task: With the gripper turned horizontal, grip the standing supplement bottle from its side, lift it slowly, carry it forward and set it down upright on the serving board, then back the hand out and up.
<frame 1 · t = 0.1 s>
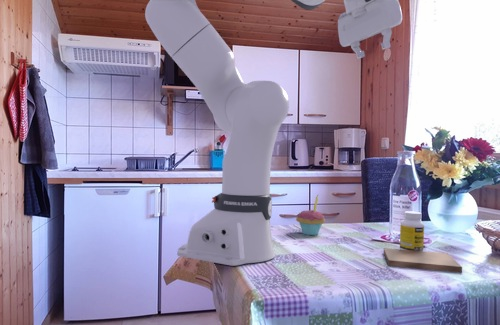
hand: (373, 53, 97), 52 cm above the table, tool tilted 20°, fingers open, 8 cm apart
serving board: (419, 261, 79), on the table
supplement bottle: (411, 251, 89), on the table
cupcake: (310, 234, 107), on the table
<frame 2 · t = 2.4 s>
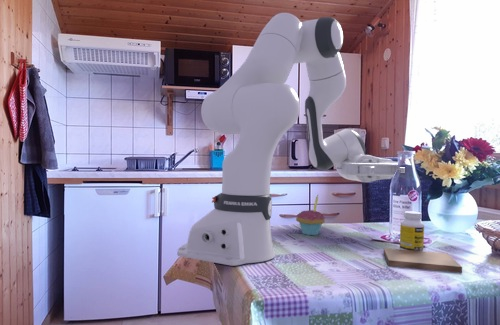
hand: (387, 170, 101), 20 cm above the table, tool horizontal, fingers open, 8 cm apart
nothing on the table moved.
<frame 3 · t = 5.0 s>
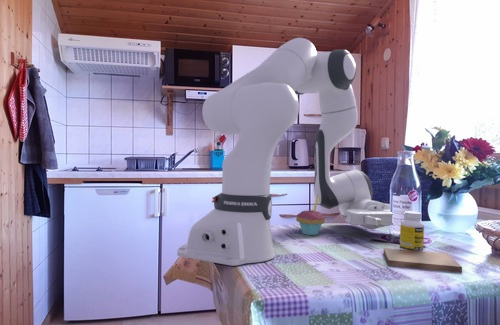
hand: (394, 222, 96), 6 cm above the table, tool horizontal, fingers open, 8 cm apart
nothing on the table moved.
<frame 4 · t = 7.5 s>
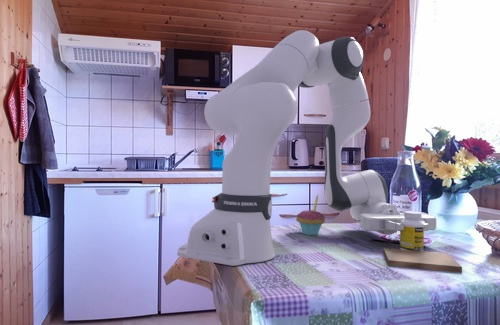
hand: (414, 227, 88), 6 cm above the table, tool horizontal, fingers closed on supplement bottle, 5 cm apart
supplement bottle: (411, 251, 89), on the table, touching gripper
everything else where it was.
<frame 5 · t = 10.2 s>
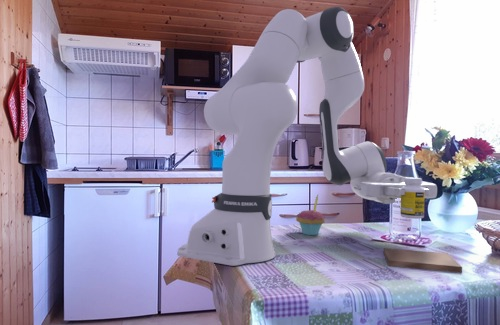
hand: (414, 192, 87), 15 cm above the table, tool horizontal, fingers closed on supplement bottle, 5 cm apart
supplement bottle: (412, 217, 88), point 8 cm above the table, touching gripper
everything else where it was.
when the fingers open (8 cm above the table, at t = 13.3 s): supplement bottle stays where it is, resting on serving board.
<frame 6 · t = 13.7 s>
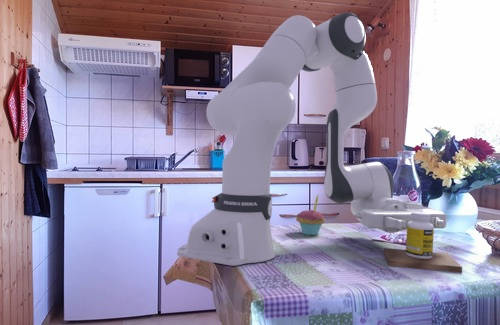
hand: (422, 224, 78), 8 cm above the table, tool horizontal, fingers open, 8 cm apart
supplement bottle: (419, 257, 79), point 1 cm above the table, touching serving board
everything else where it was.
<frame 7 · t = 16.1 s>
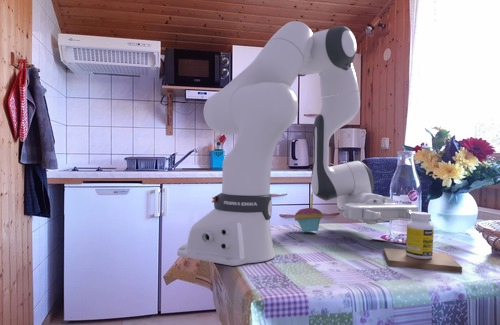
hand: (395, 216, 89), 9 cm above the table, tool horizontal, fingers open, 8 cm apart
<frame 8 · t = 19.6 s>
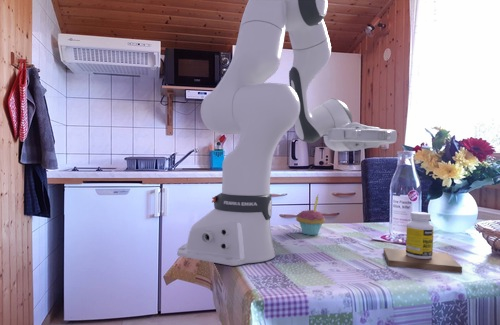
hand: (374, 134, 98), 30 cm above the table, tool horizontal, fingers open, 8 cm apart
at the end: supplement bottle inside the target area on the serving board (0.1 cm from its centre), point 1.0 cm above the serving board's base; supplement bottle tilted 0°; the gripper is holding nothing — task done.
